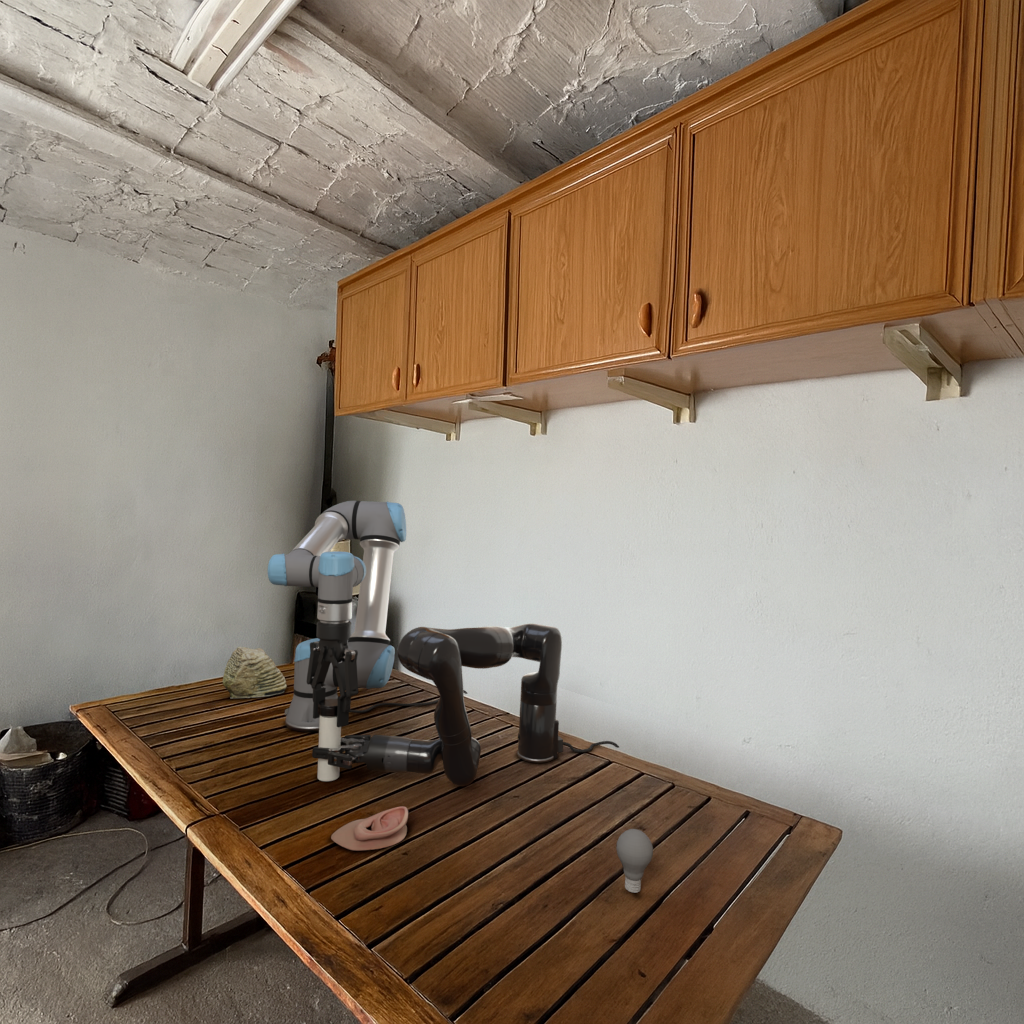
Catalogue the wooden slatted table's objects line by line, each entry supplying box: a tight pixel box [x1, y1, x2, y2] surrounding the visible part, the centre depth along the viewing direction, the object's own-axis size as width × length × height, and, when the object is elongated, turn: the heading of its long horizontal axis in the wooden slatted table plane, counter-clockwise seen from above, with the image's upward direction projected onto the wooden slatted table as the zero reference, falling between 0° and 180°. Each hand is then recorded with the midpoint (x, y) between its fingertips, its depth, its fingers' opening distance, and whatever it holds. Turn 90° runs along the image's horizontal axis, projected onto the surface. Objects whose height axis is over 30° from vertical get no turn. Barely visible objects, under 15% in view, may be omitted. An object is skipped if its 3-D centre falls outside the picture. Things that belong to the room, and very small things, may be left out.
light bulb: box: [615, 828, 654, 894], centre depth 106 cm, size 6×6×10 cm
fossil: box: [222, 646, 288, 699], centre depth 198 cm, size 9×18×15 cm, turn 132°
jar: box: [316, 715, 342, 782], centre depth 143 cm, size 5×5×16 cm
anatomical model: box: [330, 805, 409, 852], centre depth 119 cm, size 13×4×12 cm
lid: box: [318, 699, 338, 717], centre depth 143 cm, size 6×6×2 cm
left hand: (330, 721), depth 143 cm, fingers open, 7 cm apart
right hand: (318, 747), depth 144 cm, fingers closed on jar, 4 cm apart
